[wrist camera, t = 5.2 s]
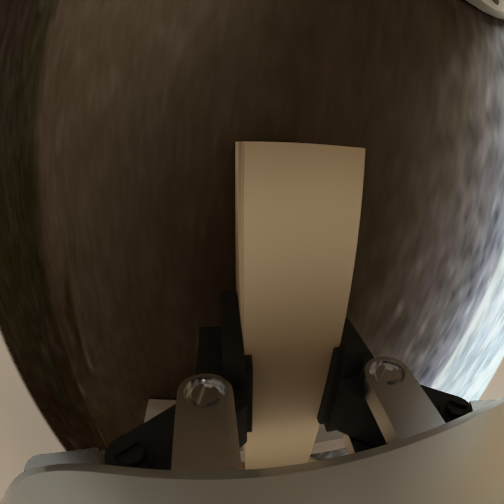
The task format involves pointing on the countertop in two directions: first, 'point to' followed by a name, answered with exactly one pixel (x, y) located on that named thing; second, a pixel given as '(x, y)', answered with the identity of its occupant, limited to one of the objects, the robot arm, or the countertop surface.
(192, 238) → the countertop surface
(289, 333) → the dough scraper
